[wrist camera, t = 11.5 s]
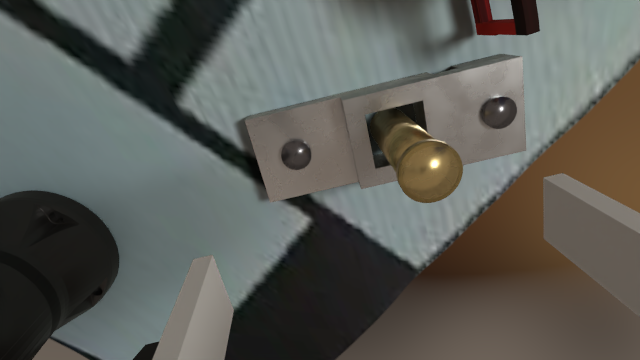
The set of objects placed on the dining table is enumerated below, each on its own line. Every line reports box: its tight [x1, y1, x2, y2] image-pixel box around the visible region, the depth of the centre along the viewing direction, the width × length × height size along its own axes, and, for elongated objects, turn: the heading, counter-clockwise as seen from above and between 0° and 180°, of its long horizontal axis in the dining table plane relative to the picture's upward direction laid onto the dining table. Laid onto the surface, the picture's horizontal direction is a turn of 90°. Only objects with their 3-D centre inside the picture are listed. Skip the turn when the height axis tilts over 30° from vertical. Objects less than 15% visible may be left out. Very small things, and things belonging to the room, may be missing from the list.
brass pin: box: [370, 108, 463, 203], centre depth 34 cm, size 5×5×14 cm
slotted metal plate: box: [245, 54, 526, 203], centre depth 39 cm, size 26×9×5 cm, turn 103°
